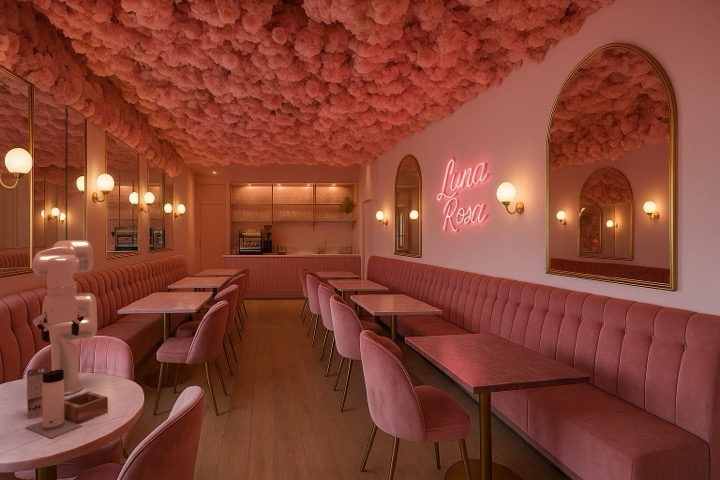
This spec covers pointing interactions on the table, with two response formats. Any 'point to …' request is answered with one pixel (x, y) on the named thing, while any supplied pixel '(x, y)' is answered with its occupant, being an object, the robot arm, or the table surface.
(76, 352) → the robot arm
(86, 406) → the frame
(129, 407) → the table surface
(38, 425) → the rubber mat
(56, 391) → the travel mug
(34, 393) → the coffee box
